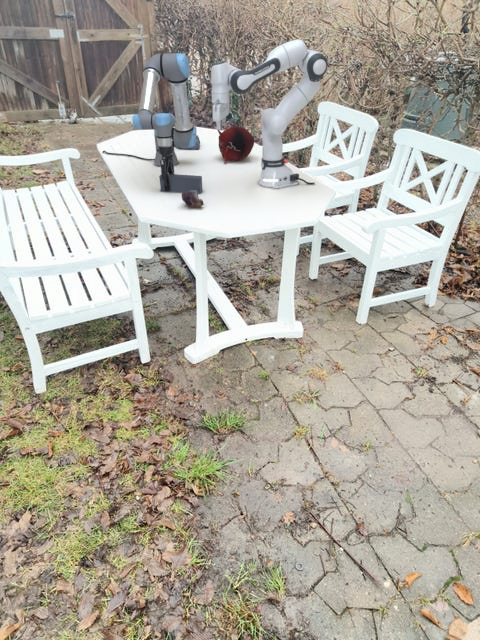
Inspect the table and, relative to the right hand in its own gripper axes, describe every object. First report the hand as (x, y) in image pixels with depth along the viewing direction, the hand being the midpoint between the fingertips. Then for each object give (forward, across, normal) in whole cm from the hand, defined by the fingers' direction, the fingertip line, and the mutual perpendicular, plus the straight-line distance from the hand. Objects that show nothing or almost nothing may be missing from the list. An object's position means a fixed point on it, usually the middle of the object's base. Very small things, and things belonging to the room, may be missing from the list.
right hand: (221, 127), depth 234 cm
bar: (+32, -8, +22) cm, 40 cm away
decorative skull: (+32, +61, +7) cm, 70 cm away
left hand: (+31, -8, +29) cm, 43 cm away
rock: (+32, -30, +9) cm, 45 cm away
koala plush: (+32, +85, +48) cm, 103 cm away
